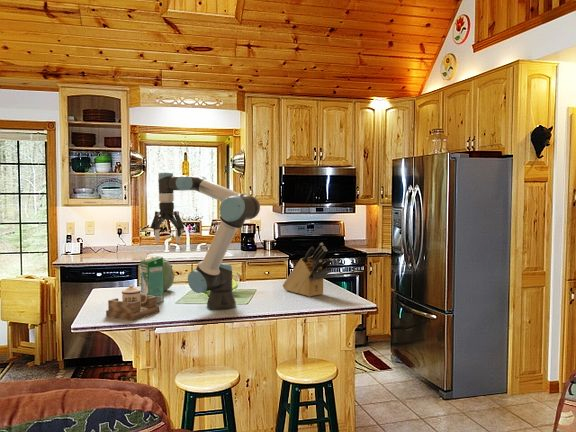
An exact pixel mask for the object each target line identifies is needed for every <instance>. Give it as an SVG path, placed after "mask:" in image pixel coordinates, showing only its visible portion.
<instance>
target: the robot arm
mask: <svg viewBox="0 0 576 432" xmlns="http://www.w3.org/2000/svg"><path fill="white" fill-rule="evenodd" d="M157 181H158V202H159V203H158V207H159V210H155V211H154V216H153V219H152V222H151V225H150V229H152V230H153V235H154V242H155V243H159V242H160V226H161V225H162V224H163V222H164V221H171V223H172V225H173V226H174V228H175V243H176V244H178V243H181V236H182V230H183V229H185V225H184V223H183V221H182V219H181V217H180V211H177V210H174V209H175V204H174V201H175V199H174V197H175V196H174V193H175V191H183V192H184V191H185V192H186V191H196V192H198V193H201V194H203V195H205V196H208V197H209V198H211V199H214V200H217V201H219V202H221V203H220V206H219V208H218V209H219V220H220V221H221V222H220V223H219V226H218V228H217V230H216V232H215V234H214V236H213V239H212V240H211V243H210V245H209V248H208V250H207V251H206V254H205V256H204V257H203V260H201V261H199V262H198V263H197V265H196V268H195V269H193V270H191V271H189V273H188V275H187V283H188V286H189V288H190V289H191V291H193V292H194V293H196V294H201V293H206V292H209V296H208V299H207V302H206V308H207V309H208V310H213V311H217V310H218V311H223V310H230V309H234V308H235V307H236V306H237V303H236V302H237V301H236V300H235V296H234V293H233V267H232V264H230V263H222V262H223V260H224V258H225V256H226V253H227V252H228V250H229V247H230V245H231V243H232V241H233V239H234V237H235V235H236V233H237V231H238V230H239V229H242V228H243V225H244V224H245V221H247V220H253V219H255V218H256V217H257V216H258V215H259V213H260V211H261V204H260V201H259V200H258V199H257V198H256V197H255V196H252V195H250V194H247V193H244V192H243V193H239V192H237V191H234V190H232V189H230V188H228V187H224V186H222V185H221V184H217V183H215V182H213V181H210V180H208V179H207V178H206V177H205V176H201V175H198V176H197V175H192V176H191V175H174V173H173V172H160V173H158V179H157Z"/></svg>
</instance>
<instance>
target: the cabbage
mask: <svg viewBox="0 0 576 432" xmlns="http://www.w3.org/2000/svg"><path fill="white" fill-rule="evenodd" d="M175 276H176V274H175V273H174V270H173V265H172V264H171V263H170V261H169V259H166V258H163V289H164V292H165V291H167V290H169V289H170V288H171V287H172V285H173V284H174V279H175Z"/></svg>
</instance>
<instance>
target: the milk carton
mask: <svg viewBox="0 0 576 432" xmlns="http://www.w3.org/2000/svg"><path fill="white" fill-rule="evenodd" d="M163 259H164V257H163V256H158V255H153V256H148V257H145V259H141V260H140V261H139V264H140V265H139V266H140V267H139V269H140V271H139V272H140V290H141V292H140V293H144V294H146V295H149V296H157V304H159V303H163V302H165V301H164V297H165V295H164V294H165V293H164V292H165V291H164V289H163Z"/></svg>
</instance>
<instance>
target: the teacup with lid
mask: <svg viewBox="0 0 576 432" xmlns="http://www.w3.org/2000/svg"><path fill="white" fill-rule="evenodd" d="M121 295H122V302H130V303H132V302H136V301H140V308H141V304H142V303H145V302H146V300H147V295H146V294H144V293H141V288H137V287H135V286H134V285H133V284H130V285H129V286H128V287H127V288H125V289H123V290H122V291H121ZM141 295H145V296H146V299H145V301H143V302H141Z"/></svg>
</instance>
